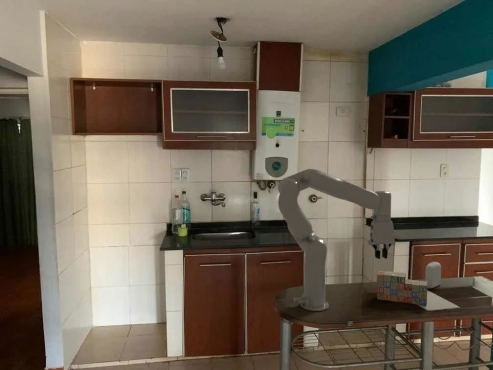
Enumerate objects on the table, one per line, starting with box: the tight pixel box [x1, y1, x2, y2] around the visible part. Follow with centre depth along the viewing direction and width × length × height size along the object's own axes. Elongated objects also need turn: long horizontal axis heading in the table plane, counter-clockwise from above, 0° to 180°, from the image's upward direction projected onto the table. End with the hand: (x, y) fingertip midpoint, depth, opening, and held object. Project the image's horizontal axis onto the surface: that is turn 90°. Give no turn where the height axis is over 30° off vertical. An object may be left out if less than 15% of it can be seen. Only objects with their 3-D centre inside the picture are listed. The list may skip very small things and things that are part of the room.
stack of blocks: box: [376, 270, 428, 306], centre depth 175 cm, size 21×6×12 cm, turn 62°
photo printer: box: [424, 261, 442, 289], centre depth 195 cm, size 10×4×12 cm, turn 127°
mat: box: [416, 289, 461, 312], centre depth 178 cm, size 16×26×1 cm, turn 11°
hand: (381, 257), depth 172 cm, fingers open, 2 cm apart
